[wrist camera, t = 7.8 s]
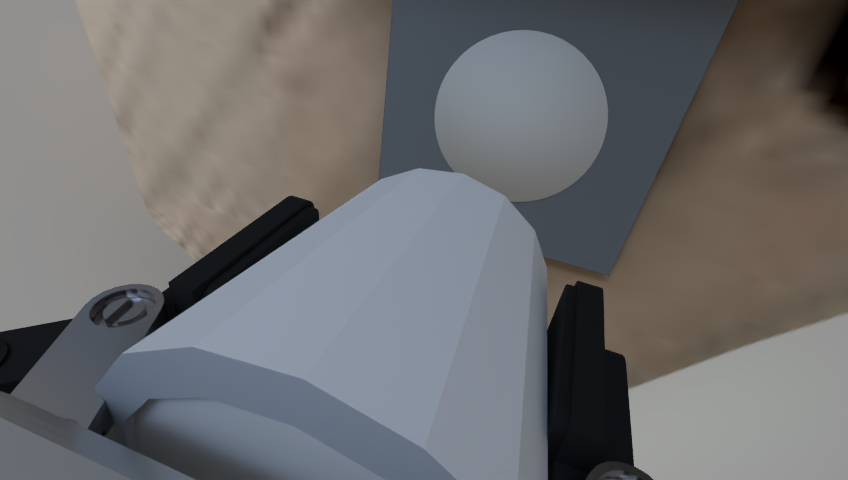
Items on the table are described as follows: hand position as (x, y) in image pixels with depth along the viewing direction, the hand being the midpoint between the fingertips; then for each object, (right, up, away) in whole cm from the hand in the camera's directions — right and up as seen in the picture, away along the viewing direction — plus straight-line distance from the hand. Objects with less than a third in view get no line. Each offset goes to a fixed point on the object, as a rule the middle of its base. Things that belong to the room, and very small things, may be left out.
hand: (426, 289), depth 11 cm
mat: (+5, +8, +13) cm, 16 cm away
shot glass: (0, +1, +1) cm, 1 cm away
